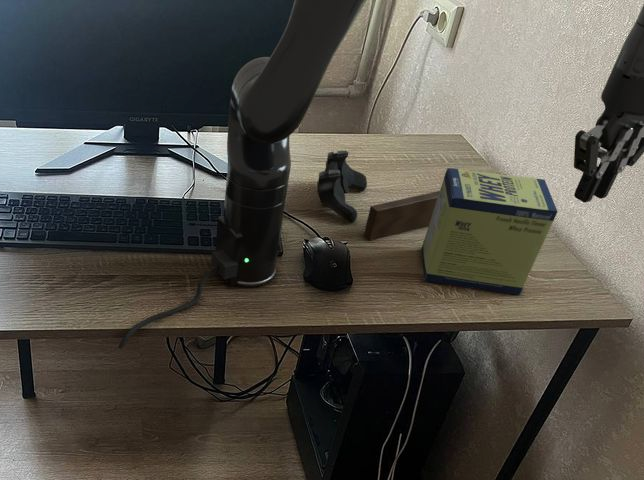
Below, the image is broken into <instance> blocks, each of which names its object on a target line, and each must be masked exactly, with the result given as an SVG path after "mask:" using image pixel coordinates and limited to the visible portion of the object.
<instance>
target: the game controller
mask: <svg viewBox="0 0 644 480" xmlns="http://www.w3.org/2000/svg"><path fill="white" fill-rule="evenodd" d="M349 153H350V152H348V150H337V151H336V152H334V151H331V152H327V158H326V160H325V169H324V170H323V171H320V172H319V173H318V180H317V182H316V191H317V196H318V199H319V202H320V203H321V204H322V205H323V206H326V207H327V208H329V209H330V210H332V211H333V212H334V213H336V214H337V215H338V216H339V217H341V218H342V219H344V221H347V222H349V223H350V224H352V223H355V222H356V220H357V218H358V211H357V210H356V208H355V207H354V206H352V205H351V204H348V203H346V194H348V193H349V190H354V191H356V192H357V191H358V192H364V191H366V188H367V186H368V181H367V176H366V175H365V174H364V173H362V172H360V171H357V170H355V169H352V167H351V166H350V165H349V164H348V163H347V158H348V157H349Z"/></svg>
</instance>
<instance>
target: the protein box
mask: <svg viewBox="0 0 644 480" xmlns="http://www.w3.org/2000/svg"><path fill="white" fill-rule="evenodd" d="M439 191H440V192H439V195H438V198H437V201H436V204H435V207H434V211H433V214H432V217H431V221H430V224H429V226H428V227H427V230H426V233H425V236H424V239H423V242H422V246H421V248H420V249H421V258H422V259H421V261H422V272H423V280H424V282H429V283H436V284H443V285H450V286H455V287H462V288H463V287H464V288H470V289H476V290H482V291H489V292H490V291H491V292H495V293H501V294H509V295H515V296H520V295H521V293H522V292H523V290H524V287H525V285H526V284H527V283H526V282H527V281H528V278H529V276H530V273H531V271H532V269H533V267H534V264H535V263H536V260H537V258H538V257H539V254H540V251H541V249H542V247H543V245H544V243H545V240H546V239H547V236H548V234H549V231H550V229H551V228H552V226H553V223H554V221H555V218H556V216H557V214H558V209H557V206H556V204H555V201H554V199H553V197H552V195H551V191H550V189H549V187H548V184H547V181H546V180H545V179H544V178H543V179H542V178H536V177H535V178H534V177H524V176H518V175H517V176H516V175H510V174H509V175H508V174H502V173H501V174H500V173H492V172H485V171H477V170H471V169H469V170H468V169H461V168H452V167H448V168H446V170H445V173H444V177H443V180H442V182H441V187H440V188H439Z"/></svg>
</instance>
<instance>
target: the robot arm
mask: <svg viewBox="0 0 644 480" xmlns="http://www.w3.org/2000/svg"><path fill="white" fill-rule="evenodd" d="M367 2H368V0H294V2H293V6H292V9H291V11H290V16H289V19H288V22H287V23H286V24H287V25H286V26H285V29H284V31H283V33H282V36H281V37H280V39H279V41H278V43H277V45H276V47H275V49H274V50H273V52H272V54H271V55H270V56H263V57H258V58H254V59H252V60H250V61H249V62H247V63H245V64H244V65H243V66H242V67H241V68H240V70H238V72H237V73H236V75H235V77H234V79H233V82H232V86H231V89H230V96H229V108H228V123H227V137H226V138H227V139H226V153H227V171H226V182H225V193H224V202H223V205H224V206H223V215H221V216H218V218H217V223H216V234H215V235H216V237H215V247H214V248H215V251H212V252H211V266H212V268H210V269H208V270H207V272H205V273H204V275H203V276H202V277H201V279H199V282H198V283H197V287H196V293H195V295H194V297H193V298H192V299H191V300H190V301H189V302H187V303H185V304H182V305H178V306H176V307H174V308H172V309H169V310H166V311H162V312H159V313H157V314H153V315H151V316H149V317H147V318H146V319H144V320H142V321H140V322H138V323H136V324H134V325H133V326H132V327H131V328H130V329H129V330H128V331H127V332H126V333H125V334H124V335H123V337H122V339H121V340H120V342H119V345H118V349H124V348H125V346H126V344H127V343H128V342H129V340H130V338H131V337H132V336H133V335H134V333H136V332H137V331H138V330H140V329H141V328H143V327H144V326H147V325H149V324H150V323H152V322H154V321H156V320H159V319H162V318H165V317H169V316H172V315H174V314H177V313H178V312H181V311H184V310H186V309H190V308H191V307H193V306H194V305H196V304H197V302H198V301H199V300H200V299H201V297H202V292H203V286H204V284H205V283H206V281H207V280H208V279H209V278H210V277H211V276H212V275H213V274H215V273H216V272H217V273H218V275H220V276H221V278H222V279H223V280H224V281H225V282H226V284H227V285H229V286H230V287H236V286H239V287H246V288H256V287H260V286H264V285H267V284H269V283H270V282H272V281H273V279H274V278H275V276H276V271H277V262H278V261H277V259H278V255H280V254H281V245H280V241H281V233H282V228H283V227H282V226H283V220H284V213H285V206H286V200H287V194H288V188H289V180H290V175H291V167H292V165H291V164H292V160H291V159H292V158H291V150H290V149H291V148H290V136H291V135H292V134H293V133H295V131H296V130H297V129H298V128H299V127H300V125H301V123H302V122H303V120H304V118H305V116H306V115H307V112H308V110H309V108H310V107H311V104H312V101H313V100H314V97H315V96H316V93H317V91H318V89H319V86H320V84H321V82H322V80H323V78H324V77H325V74H326V72H327V70H328V68H329V66H330V64H331V62H332V60H333V58H334V56H335V55H336V53H337V51H338V49H339V48H340V46H341V44H342V43H343V41H344V40H345V38H346V36H347V35H348V33H349V31H350V30H351V29H352V26H353V25H354V24H355V22H356V20H357V18H358V17H359V15H360V13H361V11H362V10H363V8H364V7H365V5H366V3H367ZM603 87H604V88H603V90H602V92H601V94H600V100H601V102H602V103H603V106H604V110H603V112H602V113H601V115H600V116H599V117H598V118H597V120H596V121H595V126H594V127H592V128H591V129H590V130H588V131H584V130H582V129H581V130H579V131H578V132H576V134H575V137H574V153H573V168H574V169H575V170H577V171H580V172H582V174H581V177H580V180H579V181H578V184H577V185H576V188H575V191H574V193H573V194H574V195H573V196H574V198H575V199H576V200H578V201H580V202H582V203H589V202H591V201H592V200H593V198H594V197H596V198H598V199H605V198H607V197H608V195H609V193H610V191H611V189H612V187H613V184H614V183H615V181H616V179H617V176H618V175H619V174H622V172H623V171H624V170H625V169H626V167H627V166H628V167H633V166H634V165H635V164H636V163H637V162H638V161H639V159H640V158H641V157H642V155H644V3H643V5H642V7H641V9H640V10H639V14H638V16H637V18H636V20H635V22H634V24H633V26H632V27H631V30H630V31H629V33H628V34H627V36H626V38H625V40H624V42H623V44H622V46H621V48H620V51H619V53H618V55H617V58H616V60H615V62H614V64H613V67H612V69H611V72H610V74H609V76H608V78H607V81H606V83H605V85H604V86H603ZM598 159H600V162H599V164H598Z"/></svg>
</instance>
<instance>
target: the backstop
mask: <svg viewBox="0 0 644 480" xmlns="http://www.w3.org/2000/svg"><path fill="white" fill-rule="evenodd" d="M439 192H440V190H438V191H433V192H428V193H423V194H420V195H414V196H410V197H406V198H402V199H397V200H393V201H392V200H391V201H388V202H383V203H379V204H374V205H370V207H369V211H368V215H367V220H366V224H365V229H364V232H363V236H364V238H366V239H367V240H368V241H375V240H377V239H383V238H385V237H386V238H387V237H391V236H395V235H398V234H403V233H406V232H412V231H414V230H420V229H423V228H428V227H429V224H430V221H431V217H432V214H433V211H434V207H435V204H436V201H437V198H438V195H439Z"/></svg>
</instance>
